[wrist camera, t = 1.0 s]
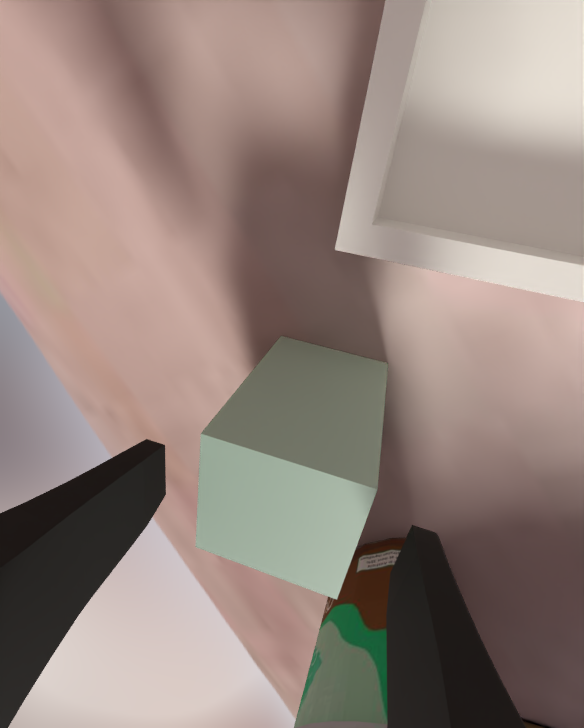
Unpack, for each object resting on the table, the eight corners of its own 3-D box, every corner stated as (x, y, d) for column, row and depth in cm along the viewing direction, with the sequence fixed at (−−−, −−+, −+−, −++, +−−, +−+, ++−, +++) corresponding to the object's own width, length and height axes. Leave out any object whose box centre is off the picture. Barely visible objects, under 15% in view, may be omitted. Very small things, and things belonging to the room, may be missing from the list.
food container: (292, 510, 20) (203, 769, 11) (413, 515, 17) (422, 839, 9) (333, 651, 24) (294, 914, 15) (433, 668, 22) (453, 982, 13)
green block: (388, 362, 15) (377, 489, 8) (361, 449, 17) (336, 599, 11) (281, 335, 15) (200, 433, 9) (268, 421, 17) (195, 547, 11)
